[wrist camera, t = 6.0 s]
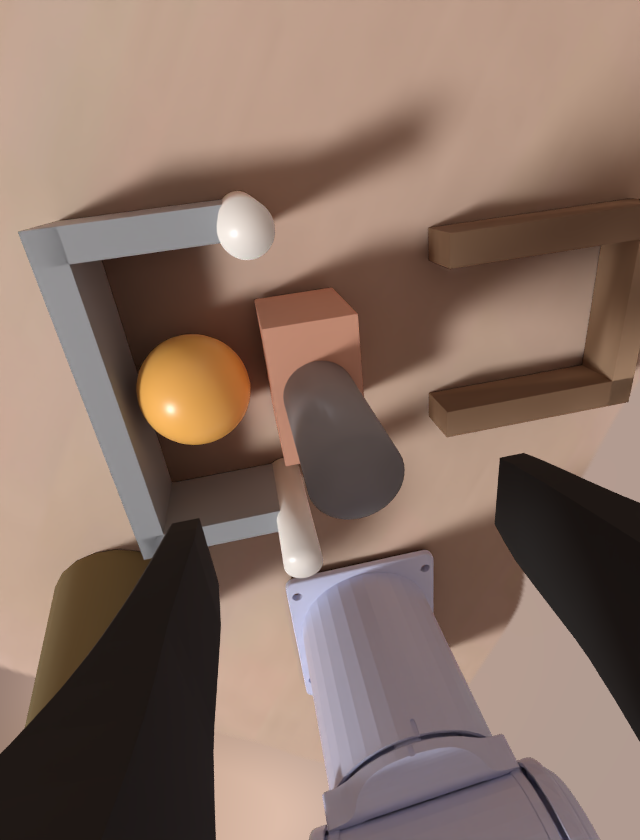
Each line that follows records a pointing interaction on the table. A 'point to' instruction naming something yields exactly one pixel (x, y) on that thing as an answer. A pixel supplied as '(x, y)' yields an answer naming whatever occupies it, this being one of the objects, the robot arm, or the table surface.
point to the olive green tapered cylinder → (82, 616)
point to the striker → (326, 403)
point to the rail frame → (608, 324)
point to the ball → (193, 389)
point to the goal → (117, 377)
